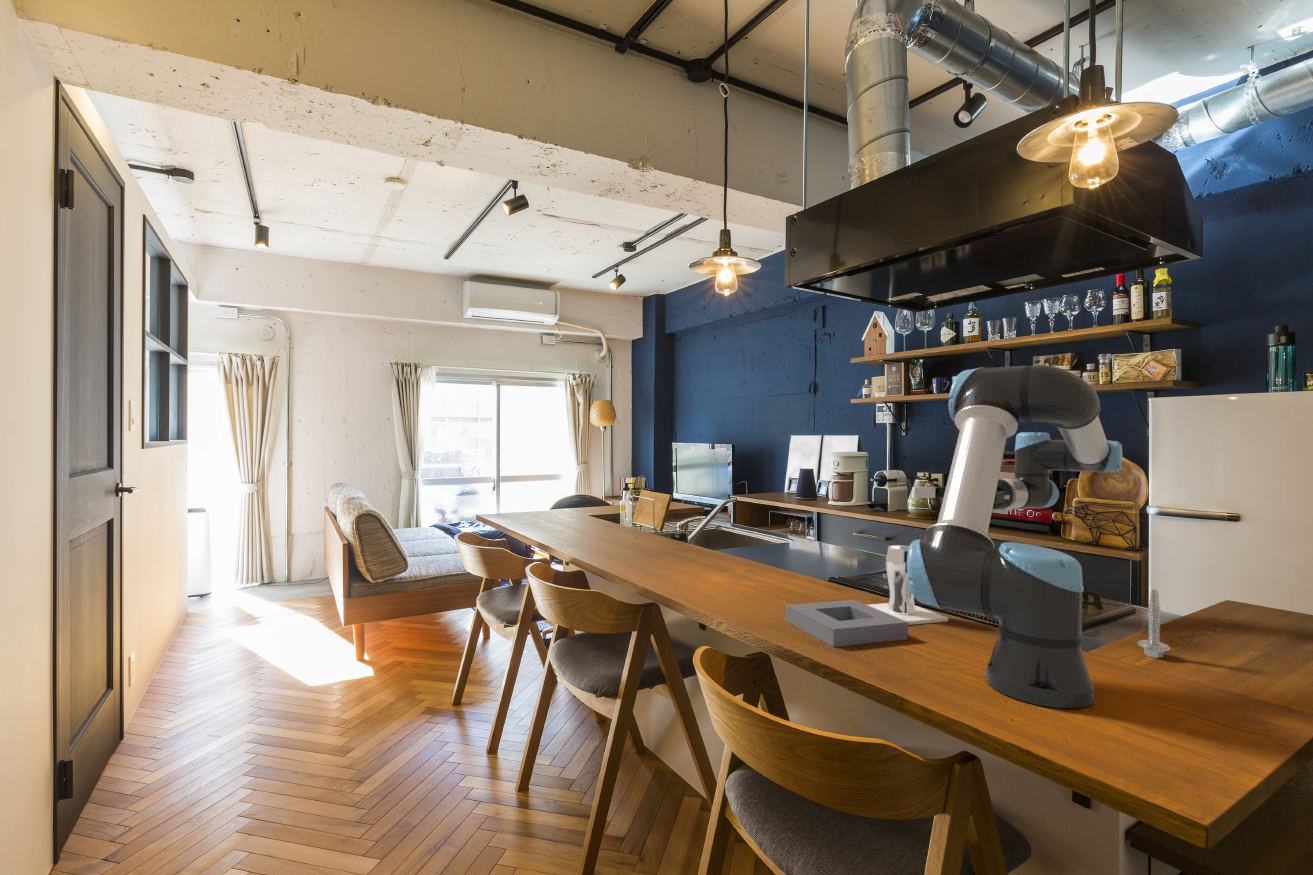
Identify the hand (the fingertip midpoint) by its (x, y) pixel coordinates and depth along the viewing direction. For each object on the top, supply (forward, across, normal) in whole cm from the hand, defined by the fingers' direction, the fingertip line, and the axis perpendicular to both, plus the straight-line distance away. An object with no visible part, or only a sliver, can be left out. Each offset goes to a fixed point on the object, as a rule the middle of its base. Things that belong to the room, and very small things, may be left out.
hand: (933, 495), depth 146 cm
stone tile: (+9, 0, -28) cm, 29 cm away
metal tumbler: (+9, 0, -27) cm, 29 cm away
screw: (-20, -36, -28) cm, 50 cm away
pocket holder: (+29, -6, -28) cm, 41 cm away
